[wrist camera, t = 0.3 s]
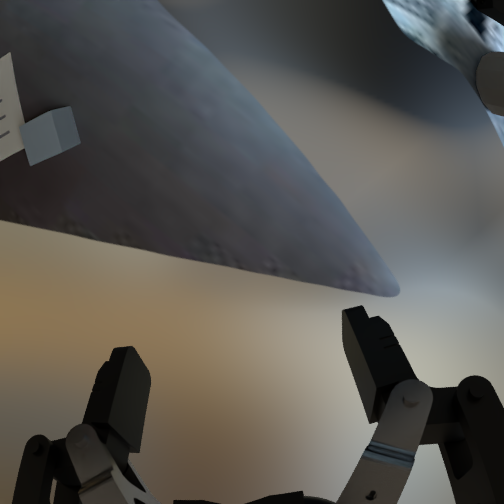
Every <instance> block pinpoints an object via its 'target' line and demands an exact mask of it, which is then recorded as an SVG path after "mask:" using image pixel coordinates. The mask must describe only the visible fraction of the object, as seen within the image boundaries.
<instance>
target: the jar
mask: <svg viewBox="0 0 504 504" xmlns="http://www.w3.org/2000/svg"><path fill="white" fill-rule="evenodd" d="M476 86H477V89H478V92H479V94H480V97H481V100H482V102H483V103H484V104H485V106H486V107H487V108H488V109H489V110H490V111H491V112H492V113H493V114H496V115H500V116H504V52H490V53H488V54H486V55H484V56H482V58H481V60H480V63H479V65H478V67H477V70H476Z"/></svg>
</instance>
